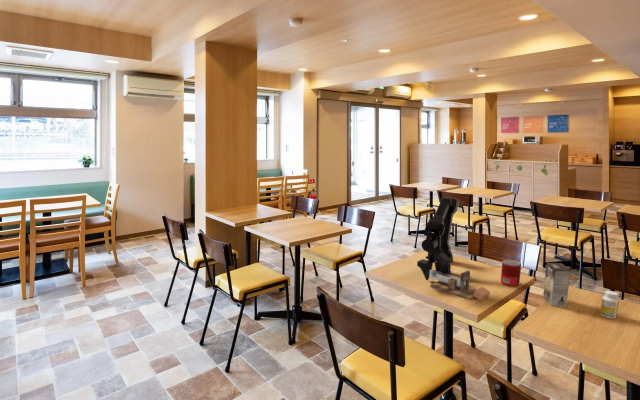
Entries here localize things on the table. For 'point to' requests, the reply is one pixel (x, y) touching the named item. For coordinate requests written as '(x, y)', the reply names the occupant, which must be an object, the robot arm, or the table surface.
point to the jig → (461, 291)
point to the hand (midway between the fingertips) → (432, 277)
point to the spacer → (481, 293)
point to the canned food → (510, 273)
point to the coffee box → (556, 284)
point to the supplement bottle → (609, 304)
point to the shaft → (444, 277)
